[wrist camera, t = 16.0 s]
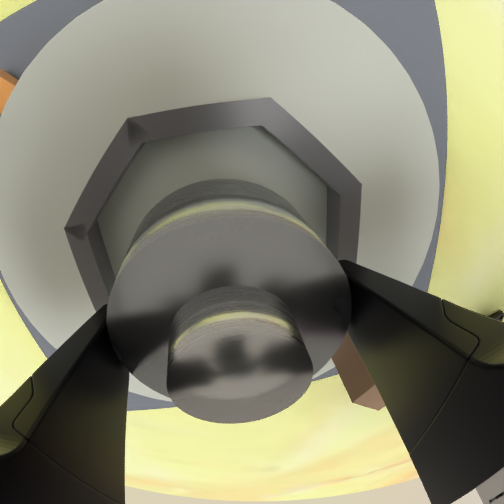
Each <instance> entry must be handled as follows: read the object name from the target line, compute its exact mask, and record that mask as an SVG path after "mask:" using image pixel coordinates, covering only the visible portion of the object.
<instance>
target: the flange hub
mask: <svg viewBox="0 0 504 504" xmlns="http://www.w3.org/2000/svg"><path fill="white" fill-rule="evenodd" d="M351 313H352V296H351V290H350V285H349V282H348V279H347V276H346V274H345V272H344V270H343V269H342V267H341V265H340V263H339V262H338V261H337V259H336V258H335V257H334V256H333V254H332V253H331V252H330V251H329V249H328V248H327V247H326V246H325V244H324V243H323V242H322V241H321V239H320V238H319V237H318V236H317V235H316V233H315V232H314V231H313V230H312V228H311V227H310V226H309V225H308V224H307V222H306V221H305V220H304V219H303V217H302V216H301V215H300V214H299V213H298V212H297V210H296V209H295V208H294V207H293V206H292V205H291V204H290V203H289V202H288V201H287V200H285V199H284V198H283V197H282V196H280V195H279V194H277V193H275V192H274V191H272V190H270V189H268V188H266V187H263V186H261V185H259V184H255V183H252V182H248V181H243V180H236V179H213V180H205V181H201V182H197V183H193V184H190V185H188V186H185V187H183V188H180V189H178V190H176V191H174V192H173V193H171V194H169V195H168V196H166V197H165V198H163V199H162V200H161V201H160V202H158V203H157V204H156V205H155V206H154V207H153V208H152V209H151V210H150V211H149V212H148V213H147V214H146V216H145V217H144V219H143V220H142V221H141V223H140V224H139V226H138V228H137V230H136V232H135V234H134V236H133V239H132V241H131V243H130V246H129V248H128V250H127V253H126V255H125V258H124V260H123V262H122V265H121V267H120V270H119V272H118V275H117V277H116V280H115V283H114V285H113V288H112V290H111V293H110V297H109V301H108V305H107V318H106V321H107V329H108V335H109V338H110V341H111V345H112V347H113V349H114V351H115V353H116V355H117V356H118V358H119V359H120V361H121V362H122V364H123V365H124V366H125V367H126V369H127V370H128V371H129V372H130V373H131V374H132V375H133V376H134V377H135V378H137V379H138V380H139V381H140V382H141V383H143V384H144V385H146V386H147V387H149V388H150V389H152V390H154V391H156V392H158V393H160V394H162V395H164V396H166V397H169V398H171V400H172V401H173V403H174V404H175V405H176V406H177V407H178V408H180V409H181V410H182V411H184V412H185V413H187V414H189V415H191V416H193V417H196V418H198V419H201V420H205V421H209V422H216V423H245V422H251V421H256V420H260V419H263V418H266V417H269V416H272V415H274V414H277V413H279V412H281V411H283V410H284V409H286V408H288V407H289V406H291V405H292V404H293V403H295V402H296V401H297V400H298V399H299V398H300V397H301V396H302V395H303V394H304V393H305V392H306V390H307V389H308V387H309V385H310V383H311V381H312V378H313V375H315V374H316V373H317V372H318V371H319V370H320V369H322V368H323V367H324V366H325V365H326V364H327V362H328V361H329V360H330V359H331V358H332V357H333V355H334V354H335V353H336V351H337V349H338V348H339V346H340V345H341V343H342V341H343V339H344V337H345V335H346V332H347V329H348V326H349V323H350V318H351Z"/></svg>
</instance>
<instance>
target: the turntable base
mask: <svg viewBox="0 0 504 504" xmlns="http://www.w3.org/2000/svg"><path fill="white" fill-rule="evenodd" d="M101 1H103V0H37V1H35V2H33V3H31V4H29V5H28V6H26V7H24V8H22V9H20V10H19V11H17V12H15V13H14V14H12V15H10V16H9V17H7V18H5V19H4V20H2V21H1V22H0V69H2V70H4V71H6V72H7V73H9V74H10V75H12V76H13V77H15V78H16V79H18V80H19V79H20V77H21V76H22V74H23V72H24V71H25V70H26V68H27V67H28V66H29V64H30V63H31V62H32V61H33V59H34V58H35V57H36V56H37V54H38V53H39V52H40V51H41V50H42V49H43V47H44V46H45V45H46V44H47V43H48V42H49V41H50V40H51V39H52V38H53V37H54V36H55V35H56V34H57V33H59V32H60V31H61V30H62V29H63V28H64V27H65V26H67V25H68V24H69V23H70V22H71V21H73V20H74V19H75V18H76V17H78V16H79V15H81V14H82V13H84V12H85V11H87V10H88V9H90V8H91V7H93V6H95V5H96V4H98V3H100V2H101ZM330 1H332V2H334V3H336V4H338V5H339V6H341V7H342V8H343V9H345V10H346V11H348V12H349V13H351V14H352V15H353V16H355V17H356V18H357V19H359V20H360V21H361V22H363V23H364V24H365V25H366V26H367V27H369V28H370V29H371V30H372V31H373V32H374V33H375V34H376V35H377V36H378V37H379V38H380V39H381V40H382V41H383V42H384V43H385V44H386V45H387V47H388V48H389V49H390V50H391V51H392V52H393V54H394V55H395V56H396V58H397V59H398V61H399V62H400V63H401V65H402V66H403V67H404V69H405V70H406V72H407V73H408V75H409V76H410V78H411V80H412V82H413V84H414V86H415V88H416V89H417V91H418V93H419V95H420V97H421V99H422V101H423V104H424V106H425V109H426V112H427V115H428V118H429V121H430V124H431V127H432V130H433V134H434V139H435V144H436V150H437V155H438V164H439V200H438V211H437V217H436V222H435V227H434V231H433V236H432V240H431V243H430V246H429V249H428V252H427V254H426V257H425V260H424V263H423V265H422V267H421V269H420V271H419V273H418V275H417V277H416V280H415V282H414V284H413V285H412V286H413V287H415V288H417V289H420V290H422V291H425V292H427V291H428V287H429V282H430V278H431V273H432V268H433V264H434V258H435V253H436V247H437V242H438V235H439V229H440V222H441V215H442V206H443V197H444V187H445V175H446V158H447V94H446V78H445V66H444V57H443V48H442V41H441V34H440V28H439V22H438V16H437V11H436V6H435V1H434V0H330ZM0 117H1V114H0ZM0 279H1V281H2V283H3V285H4V287H5V289H6V291H7V293H8V295H9V297H10V299H11V301H12V302H13V304H14V306H15V308H16V310H17V311H18V313H19V315H20V317H21V318H22V320H23V322H24V323H25V325H26V327H27V328H28V330H29V331H30V333H31V335H32V336H33V338H34V339H35V341H36V342H37V344H38V345H39V347H40V348H41V350H42V351H43V353H44V354H45V356H46V357H47V359H48V358H49V357H50V356H51V355H52V354H53V353H54V352H55V351H56V350H57V349H56V348H54V347H53V346H52V345H51V344H50V343H49V342H48V341H47V340H46V339H45V338H44V337H43V336H42V335H41V334H40V333H39V332H38V330H37V329H36V328H35V327H34V326H33V325H32V324H31V322H30V321H29V320H28V318H27V317H26V316H25V314H24V313H23V311H22V310H21V309H20V307H19V306H18V304H17V303H16V301H15V299H14V297H13V296H12V294H11V292H10V290H9V288H8V286H7V284H6V282H5V280H4V278H3V276H2V273H1V271H0ZM337 374H339V373H338V371H337V369H336V367H334V368H332V369H330V370H329V371H327V372H325V373H323V374H321V375H319V376H318V377H316V378H314V379H312V381H316V380H319V379H323V378H326V377H330V376H333V375H337ZM312 381H311V382H312ZM170 407H177V406H176V405H175V404H174V403H173V402H171V401H165V400H159V399H154V398H150V397H146V396H143V395H139V394H136V393H132V392H129V391H128V401H127V411H132V410H147V409H159V408H170Z"/></svg>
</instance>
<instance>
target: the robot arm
mask: <svg viewBox="0 0 504 504" xmlns="http://www.w3.org/2000/svg"><path fill="white" fill-rule="evenodd" d="M338 262H339V263H340V265H341V267H342V269H343V270H344V272H345V274H346V276H347V279H348V282H349V285H350V290H351V296H352V313H351V318H350V323H349V326H348V329H347V332H348V334H349V336H350V338H351V340H352V342H353V344H354V346H355V348H356V349H357V351H358V353H359V355H360V357H361V359H362V361H363V363H364V365H365V366H366V368H367V370H368V372H369V374H370V376H371V378H372V380H373V382H374V384H375V386H376V388H377V390H378V392H379V393H380V395H381V397H382V399H383V401H384V403H385V405H386V407H387V409H388V411H389V413H390V415H391V417H392V419H393V421H394V423H395V425H396V428H397V430H398V432H399V434H400V436H401V438H402V440H403V442H404V444H405V446H406V448H407V450H408V452H409V455H410V457H411V459H412V462H413V464H414V466H415V468H416V470H417V472H418V475H419V477H420V479H421V481H422V483H423V486H424V488H425V490H426V492H427V495H428V497H429V499H430V502H431V504H451V503H453V502H454V501H456V500H458V499H459V498H461V497H462V496H464V495H466V494H467V493H469V492H470V491H472V490H473V489H475V488H476V490H477V492H478V494H479V496H480V498H481V500H482V502H483V504H504V322H502V319H503V317H504V313H503V312H502V311H500V312H498V313H496V314H494V315H493V316H491V317H487V316H484V315H481V314H479V313H476V312H473V311H470V310H468V309H465V308H463V307H460V306H458V305H455V304H453V303H451V302H448V301H446V300H444V299H442V300H441V298H439V297H436V296H434V295H432V294H429V293H427V292H425V291H422V290H420V289H417V288H415V287H413V286H410V285H408V284H405V283H403V282H400V281H398V280H396V279H393V278H391V277H388V276H386V275H383V274H381V273H378V272H376V271H373V270H371V269H368V268H366V267H363V266H361V265H358V264H356V263H353V262H351V261H348V260H346V259H343V260H339V261H338ZM107 305H108V304H105V305H103V306H102V307H101V308H100V309H99V310H98V311H97V312H96V313H95V314H94V315H93V316H91V317H90V318H89V319H88V320H87V321H86V322H85V323H84V324H83V325H82V326H81V327H80V328H79V329H78V330H77V331H76V332H75V333H74V334H72V335H71V336H70V337H69V338H68V339H67V340H66V341H65V342H64V343H63V344H62V345H61V346H60V347H59V348H58V349H57V350H56V351H55V352H54V353H53V354H52V355H51V356H50V357H49V358H48V359H47V360H46V361H45V362H44V363H43V364H42V365H41V366H40V367H39V368H38V369H37V370H36V371H35V372H34V373H33V374H32V376H30V377H29V378H28V379H27V380H26V381H25V382H24V383H23V385H22V386H21V387H20V388H19V389H18V390H17V391H16V392H15V393H14V394H13V395H12V396H11V397H10V398H8V399H7V400H6V401H5V402H4V403H3V404H2V405H1V406H0V504H125V434H126V415H127V401H128V388H129V376H130V372H129V371H128V370H127V369H126V367H125V366H124V365H123V364H122V362H121V361H120V359H119V358H118V356H117V355H116V353H115V351H114V349H113V347H112V345H111V341H110V338H109V335H108V329H107V321H106V318H107Z"/></svg>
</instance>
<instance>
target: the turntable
mask: <svg viewBox="0 0 504 504" xmlns="http://www.w3.org/2000/svg"><path fill="white" fill-rule="evenodd" d="M0 114H1V117H0V271H1V273H2V276H3V278H4V280H5V282H6V284H7V286H8V288H9V290H10V292H11V294H12V296H13V297H14V299H15V301H16V303H17V304H18V306H19V307H20V309H21V310H22V311H23V313H24V314H25V316H26V317H27V318H28V320H29V321H30V322H31V324H32V325H33V326H34V327H35V328H36V329H37V330H38V332H39V333H40V334H41V335H42V336H43V337H44V338H45V339H46V340H47V341H48V342H49V343H50V344H51V345H52V346H53V347H54V348H56V349H58V348H59V347H60V346H61V345H62V344H63V343H64V342H65V341H66V340H67V339H68V338H69V337H70V336H71V335H72V334H74V333H75V332H76V331H77V330H78V329H79V328H80V327H81V326H82V325H83V324H84V323H85V322H86V321H87V320H88V319H89V318H90V317H91V316H93V315H94V314H95V313H96V312H97V311H98V310H99V309H100V308H101V307H102V306H103V305H105V304H108V301H109V297H110V293H111V290H112V288H113V285H114V283H115V280H116V277H117V275H118V272H119V270H120V267H121V265H122V262H123V260H124V258H125V255H126V253H127V250H128V248H129V246H130V243H131V241H132V239H133V236H134V234H135V232H136V230H137V228H138V226H139V224H140V223H141V221H142V220H143V219H144V217H145V216H146V214H147V213H148V212H149V211H150V210H151V209H152V208H153V207H154V206H155V205H156V204H157V203H158V202H160V201H161V200H162V199H163V198H165V197H166V196H168V195H169V194H171V193H173V192H174V191H176V190H178V189H180V188H183V187H185V186H188V185H190V184H193V183H197V182H201V181H205V180H213V179H236V180H243V181H248V182H252V183H255V184H259V185H261V186H263V187H266V188H268V189H270V190H272V191H274V192H275V193H277V194H279V195H280V196H282V197H283V198H284V199H285V200H287V201H288V202H289V203H290V204H291V205H292V206H293V207H294V208H295V209H296V210H297V212H298V213H299V214H300V215H301V216H302V217H303V219H304V220H305V221H306V222H307V224H308V225H309V226H310V227H311V228H312V230H313V231H314V232H315V233H316V235H317V236H318V237H319V238H320V239H321V241H322V242H323V243H324V244H325V246H326V247H327V248H328V249H329V251H330V252H331V253H332V254H333V256H334V257H335V258H336V259H337V261H339V260H343V259H346V260H348V261H351V262H353V263H356V264H358V265H361V266H363V267H366V268H368V269H371V270H373V271H376V272H378V273H381V274H383V275H386V276H388V277H391V278H393V279H396V280H398V281H400V282H403V283H405V284H408V285H410V286H412V285H413V284H414V282H415V280H416V277H417V275H418V273H419V271H420V269H421V267H422V265H423V263H424V260H425V257H426V254H427V252H428V249H429V246H430V243H431V240H432V236H433V231H434V227H435V222H436V217H437V211H438V200H439V164H438V155H437V150H436V144H435V139H434V134H433V130H432V127H431V124H430V121H429V118H428V115H427V112H426V109H425V106H424V104H423V101H422V99H421V97H420V95H419V93H418V91H417V89H416V88H415V86H414V84H413V82H412V80H411V78H410V76H409V75H408V73H407V72H406V70H405V69H404V67H403V66H402V65H401V63H400V62H399V61H398V59H397V58H396V56H395V55H394V54H393V52H392V51H391V50H390V49H389V48H388V47H387V45H386V44H385V43H384V42H383V41H382V40H381V39H380V38H379V37H378V36H377V35H376V34H375V33H374V32H373V31H372V30H371V29H370V28H369V27H367V26H366V25H365V24H364V23H363V22H361V21H360V20H359V19H357V18H356V17H355V16H353V15H352V14H351V13H349V12H348V11H346V10H345V9H343V8H342V7H341V6H339V5H338V4H336V3H334V2H332V1H330V0H103V1H101V2H100V3H98V4H96V5H95V6H93V7H91V8H90V9H88V10H87V11H85V12H84V13H82V14H81V15H79V16H78V17H76V18H75V19H74V20H73V21H71V22H70V23H69V24H68V25H67V26H65V27H64V28H63V29H62V30H61V31H60V32H59V33H57V34H56V35H55V36H54V37H53V38H52V39H51V40H50V41H49V42H48V43H47V44H46V45H45V46H44V47H43V49H42V50H41V51H40V52H39V53H38V54H37V56H36V57H35V58H34V59H33V61H32V62H31V63H30V64H29V66H28V67H27V68H26V70H25V71H24V72H23V74H22V76H21V77H20V79H19V80H18V79H16V78H15V77H13V76H12V75H10V74H9V73H7V72H6V71H4V70H2V69H0ZM334 367H336V369H337V371H338V373H339V375H340V377H341V379H342V381H343V384H344V386H345V388H346V390H347V392H348V394H349V396H350V398H351V401H352V403H356V404H359V405H362V406H365V407H369V408H372V409H376V410H380V409H381V408H383V407H384V406H385V403H384V401H383V399H382V397H381V395H380V393H379V392H378V390H377V388H376V386H375V384H374V382H373V380H372V378H371V376H370V374H369V372H368V370H367V368H366V366H365V365H364V363H363V361H362V359H361V357H360V355H359V353H358V351H357V349H356V348H355V346H354V344H353V342H352V340H351V338H350V336H349V334H348V332H346V335H345V337H344V339H343V341H342V343H341V345H340V346H339V348H338V349H337V351H336V353H335V354H334V355H333V357H332V358H331V359H330V360H329V361H328V362H327V364H326V365H325V366H324V367H323V368H322V369H320V370H319V371H318V372H317V373H316V374H315V375H313V378H312V379H314V378H316V377H318V376H319V375H321V374H323V373H325V372H327V371H329V370H330V369H332V368H334ZM128 391H129V392H132V393H136V394H139V395H143V396H146V397H150V398H154V399H159V400H165V401H171V402H173V401H172V400H171V398H169V397H166V396H164V395H162V394H160V393H158V392H156V391H154V390H152V389H150V388H149V387H147V386H146V385H144V384H143V383H141V382H140V381H139V380H138V379H137V378H135V377H134V376H133V375H132V374H131V373H130V376H129V388H128Z"/></svg>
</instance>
